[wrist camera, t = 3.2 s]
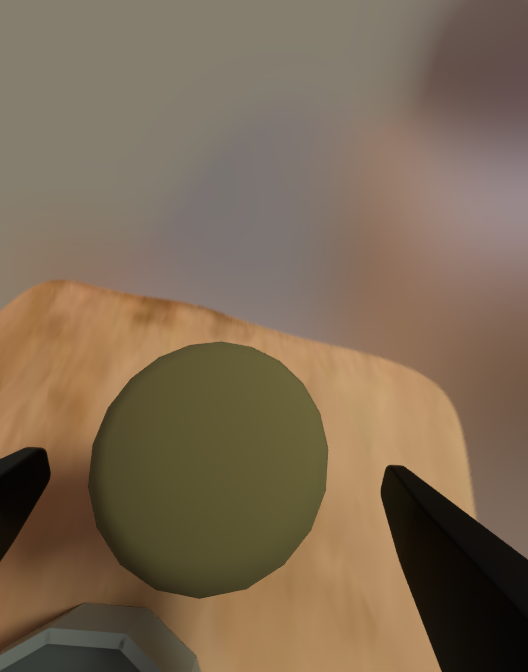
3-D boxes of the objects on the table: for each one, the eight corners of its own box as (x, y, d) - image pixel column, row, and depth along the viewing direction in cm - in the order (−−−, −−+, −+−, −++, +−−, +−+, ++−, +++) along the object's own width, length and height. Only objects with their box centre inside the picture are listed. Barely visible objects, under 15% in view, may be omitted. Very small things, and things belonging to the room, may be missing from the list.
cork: (147, 484, 15) (-53, 477, 5) (225, 390, 17) (196, 260, 7) (242, 574, 13) (229, 817, 3) (313, 458, 16) (423, 408, 6)
